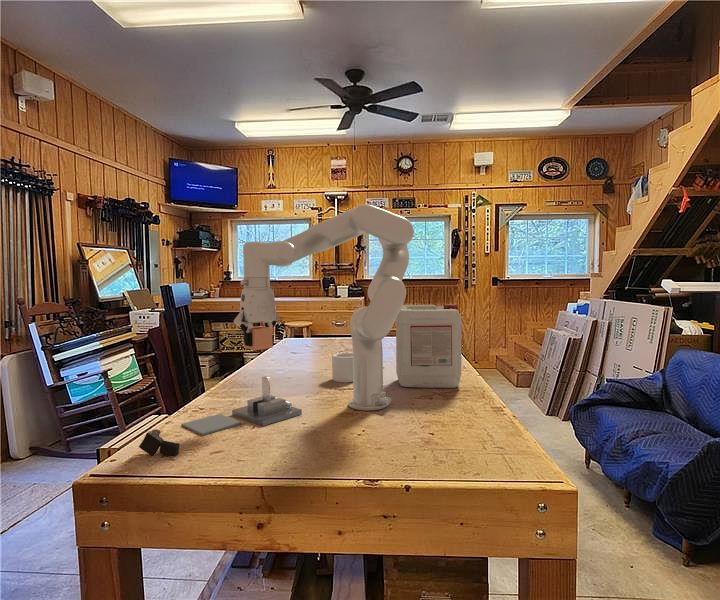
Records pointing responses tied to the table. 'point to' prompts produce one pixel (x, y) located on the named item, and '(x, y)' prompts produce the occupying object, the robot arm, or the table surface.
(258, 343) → the collar
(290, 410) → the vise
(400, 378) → the jerry can
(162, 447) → the lighter
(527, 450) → the table surface
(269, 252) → the robot arm
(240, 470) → the table surface
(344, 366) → the mug
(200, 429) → the mat
